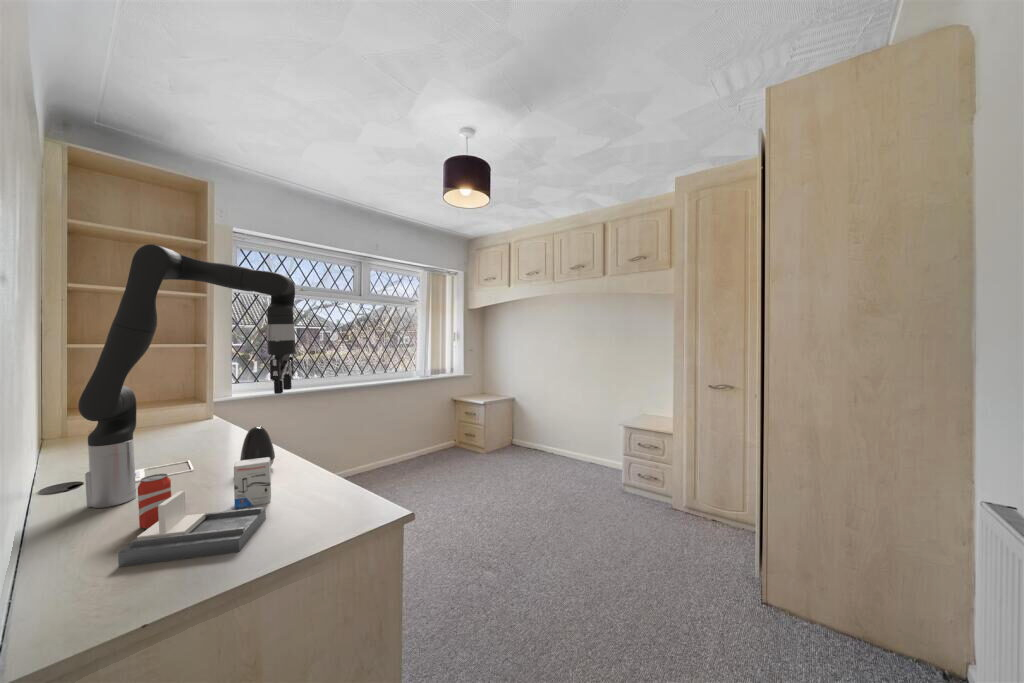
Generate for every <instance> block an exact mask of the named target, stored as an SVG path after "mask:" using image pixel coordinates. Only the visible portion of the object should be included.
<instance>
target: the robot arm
mask: <svg viewBox="0 0 1024 683" xmlns="http://www.w3.org/2000/svg"><path fill="white" fill-rule="evenodd" d="M130 263H131V264H130V269H129V274H128V276H127V277H128V278H127V281H126V285H125V289H124V292H123V294H122V298H121V299H120V303H119V305H118V308H117V311H116V314H115V316H114V318H113V320H112V323H111V326H110V328H109V331H108V334H107V336H106V340H105V344H104V345H103V348H102V350H101V353H100V355H99V358H98V360H97V364H96V366H95V368H94V371H93V372H92V375H91V376H90V378H89V380H88V382H87V384H86V385H85V388H83V391H82V393H81V395H80V397H79V399H78V400H79V401H78V408H77V409H78V412H79V414H80V415H81V417H83V418H84V419H85V420H86V421H90V422H97V424H96V426H95V428H94V429H93V431H91V432H90V433H89V434H88V436H87V445H88V446H87V450H88V454H87V455H88V468H89V469H88V471H87V472H86V473H85V474H84V475H85V476H84V479H85V480H84V481H85V497H86V498H85V499H86V507H87V508H95V509H98V508H99V509H100V508H101V509H102V508H108V507H109V508H110V507H113V506H118V505H121V504H124V503H128V502H130V501H132V500H134V499H135V498H136V497H137V493H136V491H137V488H136V483H135V470H136V468H135V467H136V466H135V446H134V444H135V443H134V432H135V429H136V427H137V398H136V395H135V393H134V391H133V389H131V388H130V387H129V386H127V385H124V383H125V381H126V378H127V377H128V374H130V372H131V371H132V369H133V368H134V366H136V364H137V363H138V362H139V361H140V360H141V358H143V356H144V355H145V354H146V353H147V351H148V350H149V348H150V345H151V343H152V341H153V339H154V336H155V334H156V330H157V327H158V313H157V312H158V311H157V295H158V292H159V289H160V287H161V285H162V283H163V280H165V281H168V280H170V281H171V280H173V281H174V280H176V281H177V280H178V281H194V282H201V283H206V284H210V285H211V284H212V285H216V286H219V287H223V288H226V289H227V288H229V289H232V290H239V291H244V292H255V293H259V294H263V295H267V296H270V306H268V308H267V312H266V318H267V327H266V340H267V341H266V342H267V347H266V348H267V354H268V355H269V356H274V358H273V359H270V360H269V372H270V373H269V374H270V376H269V379H270V380H271V381H272V382H273V391H274V392H273V393H274V394H276V395H277V394H283V393H284V390H285V391H286V390H291V389H292V387H293V386H292V377H293V375H294V374H295V373H294V372H295V370H294V357H293V356H290V355H295V354H296V352H297V350H296V330H295V325H294V323H295V322H294V321H295V320H294V304H295V297H296V296H295V295H296V287H295V284H294V281H293V280H292V279H291V278H290V276H287V275H284V274H283V273H278V272H273V271H266V270H259V269H254V268H250V267H245V266H241V265H240V266H239V265H234V264H228V263H221V262H210V261H204V260H200V259H196V258H193V257H191V256H187V255H184V254H181V253H178V252H176V251H175V250H172V249H170V248H167V247H164V246H161V245H158V244H154V243H153V244H152V243H151V244H149V243H148V244H145V245H143V246H141V247H139V248H138V249H137V250H136V251H135V252H134V255H133V257H132V260H131V262H130Z"/></svg>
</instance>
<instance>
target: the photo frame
mask: <svg viewBox="0 0 1024 683" xmlns="http://www.w3.org/2000/svg"><path fill="white" fill-rule="evenodd" d="M184 463H188V466H189V468H190V469H187V470H183V471H177V472H172V473H167V474H168V475H167V476H168V477H170V476H175V475H180V474H185V473H186V474H187V473H190V472H194V471H195V470H194V466H193V464H192V462H191V460H190V459H188V460H184V461H178V462H173V463H166V464H162V465H157V466H151V467H150V466H149V467H146V468H145V467H144V468H139V469H135V484H136V483H140V482H141V481H140V480H141V479H142V478H144V477H146V473H145V471H146V470H148V471H149V470H154V469H160V468H165V467H169V466H175V465H180V464H184Z"/></svg>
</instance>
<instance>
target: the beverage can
mask: <svg viewBox="0 0 1024 683" xmlns="http://www.w3.org/2000/svg"><path fill="white" fill-rule="evenodd" d="M168 474H169V473H156V474H151V475H147V476H145V477H144V478H142V479H141V480H140V481H141V482H139V483H138V486H137V503H138V520H139V528H141V529H142V528H143V529H146V530H147V529H148V528H150V527H151V526H152V525H154V524H155V523H156V522H158V521H159V517H158V505H160V504H161V503H163V502H164V501H165V500H167V499H168V498H170V497H171V496H172V482H171V478H170V476H167V475H168Z"/></svg>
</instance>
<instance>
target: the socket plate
mask: <svg viewBox="0 0 1024 683" xmlns="http://www.w3.org/2000/svg"><path fill="white" fill-rule="evenodd" d="M266 510H267V509H266V507H265V506H264V507H263V506H262V507H261V506H260V507H252V508H243V509H242V508H240V509H235V510H234V509H233V510H224V511H215V512H214V511H213V512H205V515H206V518H205V519H204V520H203V521H202V522H201V523H200V524H199V525H198V526H196V527H195V528H194V529H193V530H192V531H191V532H190V533H187V534H178V535H169V536H161V537H152V538H143V539H137V538H136V539H133V540H131V542H130V543H129V544H128V545H126V546H125V547H124V548H122V549H121V550H119V551H118V552H117V560H118V561H117V563H118V568H122V567H131V566H139V565H148V564H155V563H163V562H170V561H179V560H185V559H193V558H194V559H195V558H202V557H209V556H210V557H211V556H219V555H224V554H225V555H226V554H234V553H240V552H241V550H242V549H243V548H244V547H245V545H247V543H248V541H250V539H251V538H252V537H253V535H255V533H256V532H257V530H259V528H260V527H261V526H262V524H263V523H264V522H265V520H266V519H267V513H266ZM195 514H196V513H195ZM195 514H193V515H195ZM202 514H204V513H202Z"/></svg>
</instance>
